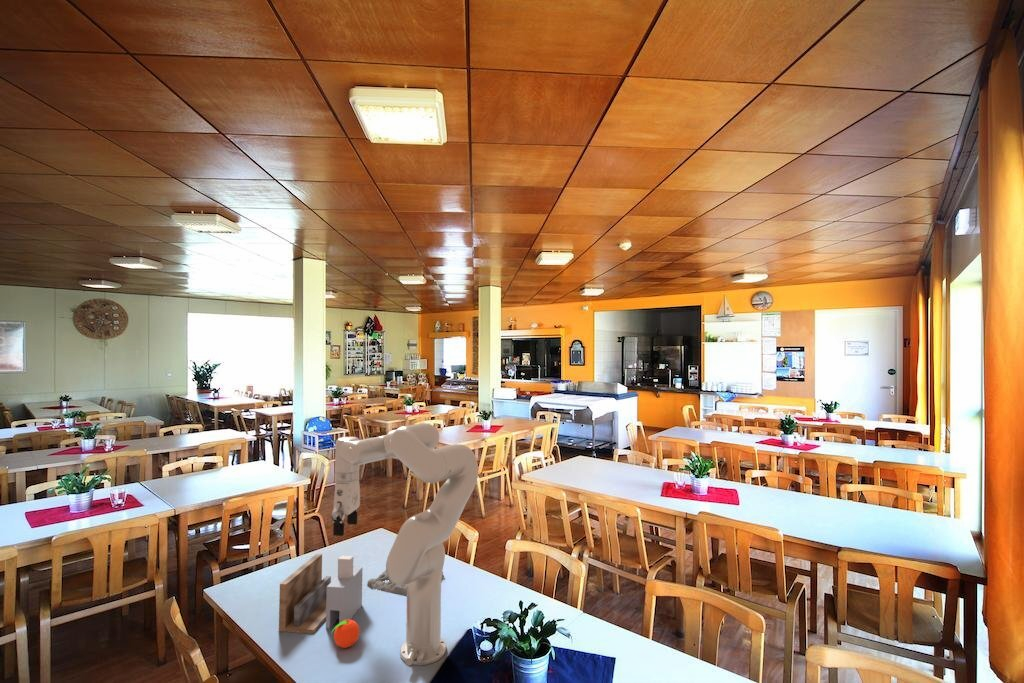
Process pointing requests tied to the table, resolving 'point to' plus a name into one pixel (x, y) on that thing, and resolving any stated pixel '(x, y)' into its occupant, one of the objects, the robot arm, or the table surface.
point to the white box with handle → (344, 592)
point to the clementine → (346, 633)
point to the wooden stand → (304, 598)
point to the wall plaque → (388, 585)
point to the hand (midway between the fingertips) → (345, 529)
